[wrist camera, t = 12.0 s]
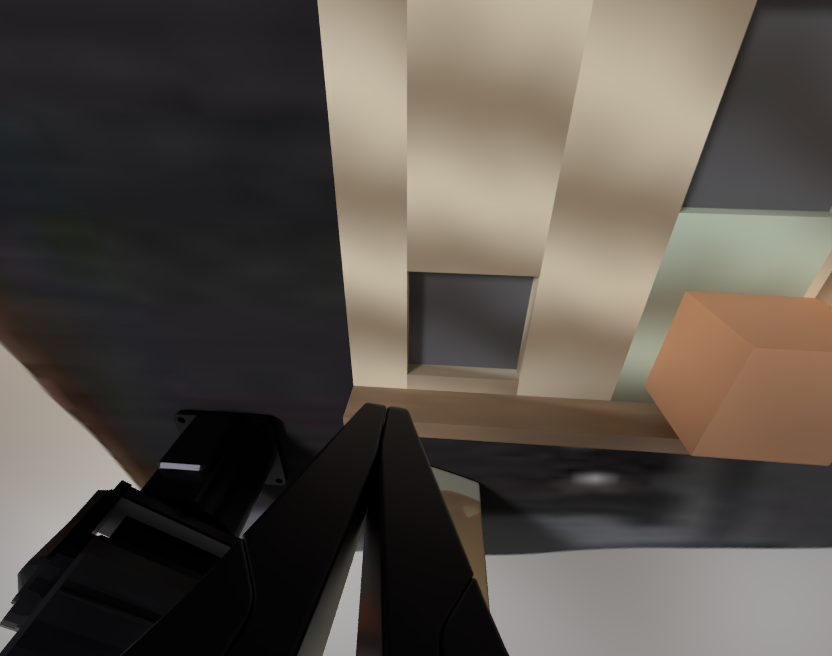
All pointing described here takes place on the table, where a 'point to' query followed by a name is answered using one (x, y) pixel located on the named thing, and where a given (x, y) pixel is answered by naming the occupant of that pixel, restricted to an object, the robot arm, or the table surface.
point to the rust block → (748, 377)
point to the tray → (566, 197)
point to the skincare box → (466, 520)
